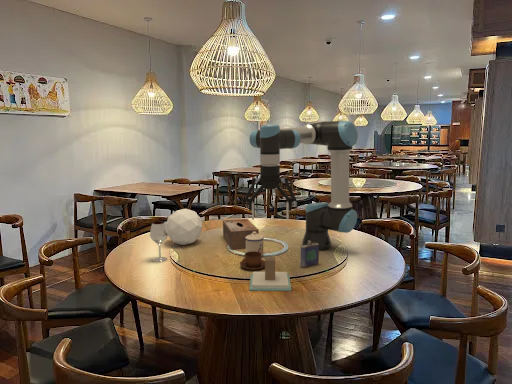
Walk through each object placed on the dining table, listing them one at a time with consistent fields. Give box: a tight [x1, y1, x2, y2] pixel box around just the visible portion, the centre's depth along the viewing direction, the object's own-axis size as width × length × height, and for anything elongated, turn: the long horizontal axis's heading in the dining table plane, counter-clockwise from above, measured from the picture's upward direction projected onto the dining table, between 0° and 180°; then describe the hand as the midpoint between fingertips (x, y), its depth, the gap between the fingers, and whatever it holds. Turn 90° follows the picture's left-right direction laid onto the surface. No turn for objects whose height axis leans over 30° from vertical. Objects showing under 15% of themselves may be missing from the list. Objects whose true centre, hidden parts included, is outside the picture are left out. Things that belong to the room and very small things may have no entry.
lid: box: [252, 256, 289, 288], centre depth 150 cm, size 14×14×9 cm
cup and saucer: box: [239, 251, 265, 271], centre depth 168 cm, size 12×12×6 cm
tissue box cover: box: [222, 218, 260, 251], centre depth 207 cm, size 26×14×10 cm, turn 15°
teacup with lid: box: [245, 232, 264, 257], centre depth 185 cm, size 12×9×12 cm
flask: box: [299, 240, 320, 269], centre depth 169 cm, size 10×3×12 cm, turn 121°
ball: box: [165, 208, 203, 246], centre depth 204 cm, size 19×20×20 cm
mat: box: [248, 273, 292, 292], centre depth 151 cm, size 16×16×1 cm
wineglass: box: [149, 221, 169, 263], centre depth 177 cm, size 8×8×18 cm
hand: (270, 218), depth 149 cm, fingers open, 13 cm apart
